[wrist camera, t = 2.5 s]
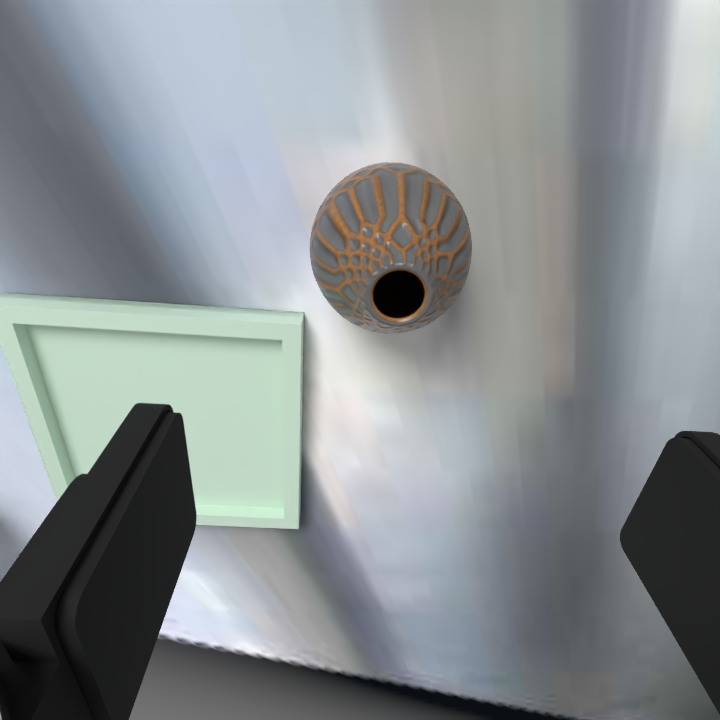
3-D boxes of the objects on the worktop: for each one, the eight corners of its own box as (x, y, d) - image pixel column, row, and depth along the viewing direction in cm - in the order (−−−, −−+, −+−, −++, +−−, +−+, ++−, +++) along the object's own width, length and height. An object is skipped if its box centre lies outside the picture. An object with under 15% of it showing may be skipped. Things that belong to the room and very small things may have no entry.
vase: (392, 314, 26) (408, 410, 19) (289, 238, 24) (259, 311, 16) (483, 215, 23) (543, 280, 16) (375, 118, 21) (386, 140, 14)
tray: (303, 312, 26) (301, 324, 25) (300, 512, 34) (298, 529, 33) (4, 292, 25) (-14, 304, 24) (74, 501, 33) (63, 518, 32)
